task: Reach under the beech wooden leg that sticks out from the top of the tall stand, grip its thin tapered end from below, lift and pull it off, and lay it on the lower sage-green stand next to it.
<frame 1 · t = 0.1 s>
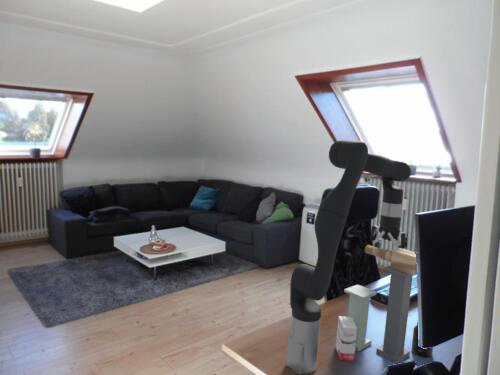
hand: (386, 255, 151), 29 cm above the table, tool pointing down, fingers open, 8 cm apart
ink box: (344, 354, 135), on the table
wooden leg: (405, 269, 131), point 31 cm above the table, touching tall stand
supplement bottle: (421, 353, 138), on the table
tall stand: (392, 353, 136), on the table
low stand: (355, 342, 142), on the table
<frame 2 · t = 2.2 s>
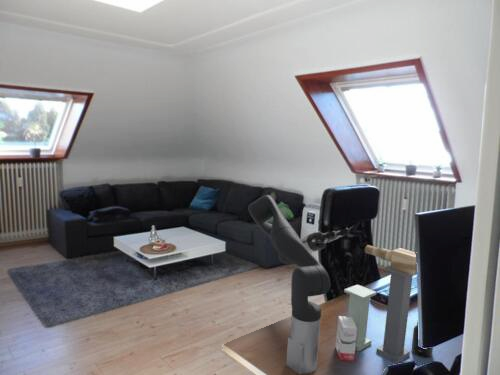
hand: (341, 232, 154), 37 cm above the table, tool pointing upward, fingers open, 8 cm apart
nothing on the table moved.
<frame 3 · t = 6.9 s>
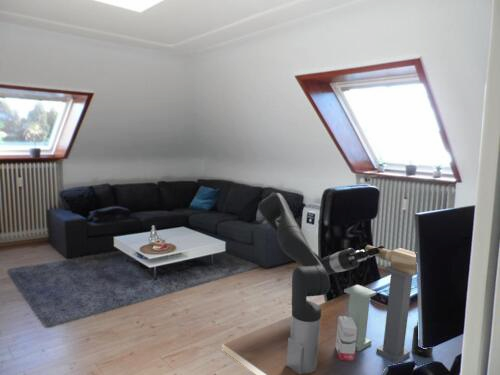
hand: (381, 249, 137), 35 cm above the table, tool pointing upward, fingers closed on wooden leg, 3 cm apart
wooden leg: (405, 269, 131), point 31 cm above the table, touching gripper, tall stand
everything else where it was.
when the fingers open (26 cm above the table, at t = 13.9 s): wooden leg drops 1 cm, resting on low stand.
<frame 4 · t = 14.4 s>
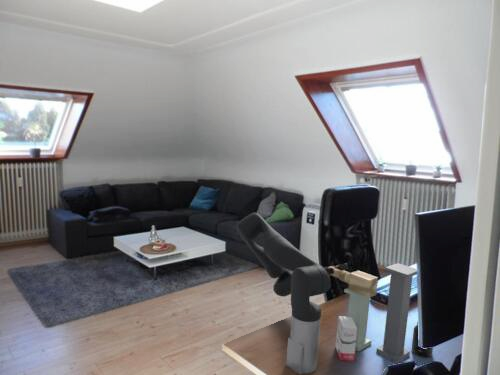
hand: (340, 268, 145), 25 cm above the table, tool pointing upward, fingers open, 8 cm apart
wooden leg: (362, 291, 138), point 20 cm above the table, touching low stand
everything else where it was.
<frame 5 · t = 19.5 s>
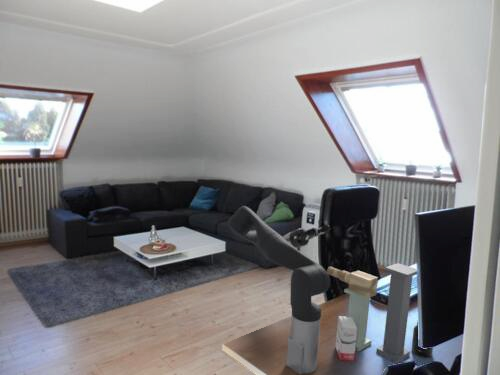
hand: (322, 228, 156), 37 cm above the table, tool pointing upward, fingers open, 8 cm apart
nothing on the table moved.
at the end: wooden leg inside the target area on the low stand (0.7 cm from its centre), point 20.0 cm above the low stand's base; wooden leg touching low stand; the gripper is holding nothing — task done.
